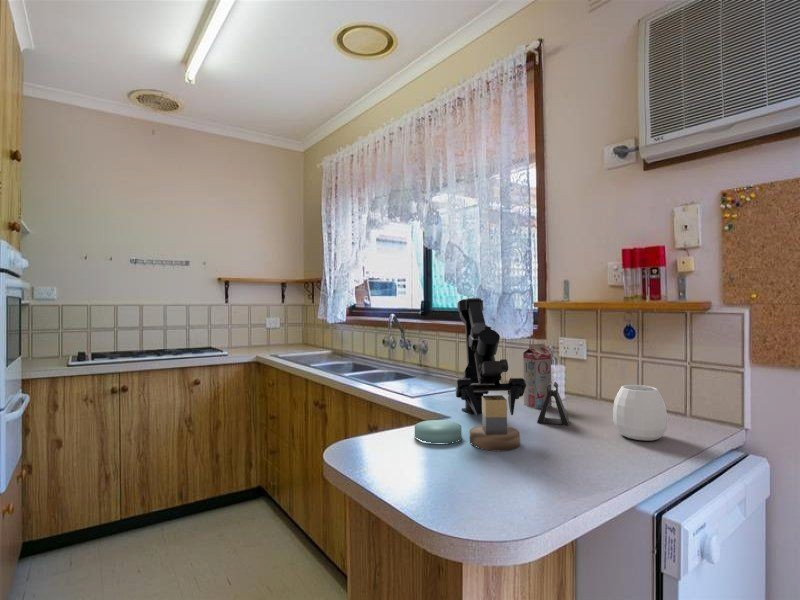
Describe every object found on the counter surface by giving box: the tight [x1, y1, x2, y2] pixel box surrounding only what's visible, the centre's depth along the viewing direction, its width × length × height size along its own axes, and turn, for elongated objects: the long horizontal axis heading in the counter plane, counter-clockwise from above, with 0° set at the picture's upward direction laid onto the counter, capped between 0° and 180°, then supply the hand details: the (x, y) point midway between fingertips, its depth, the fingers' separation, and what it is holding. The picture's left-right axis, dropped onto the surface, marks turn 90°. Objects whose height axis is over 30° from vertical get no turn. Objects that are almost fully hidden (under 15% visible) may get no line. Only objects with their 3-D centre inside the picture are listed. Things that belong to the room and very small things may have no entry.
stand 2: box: [469, 424, 521, 452], centre depth 120 cm, size 13×13×3 cm
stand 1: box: [414, 419, 463, 444], centre depth 125 cm, size 13×13×3 cm
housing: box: [481, 394, 508, 435], centre depth 120 cm, size 6×6×9 cm
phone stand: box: [536, 380, 570, 427], centre depth 139 cm, size 9×6×12 cm, turn 68°
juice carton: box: [522, 342, 553, 410], centre depth 159 cm, size 7×7×22 cm
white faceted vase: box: [612, 384, 668, 441], centre depth 123 cm, size 13×13×14 cm
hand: (494, 414), depth 119 cm, fingers open, 9 cm apart
